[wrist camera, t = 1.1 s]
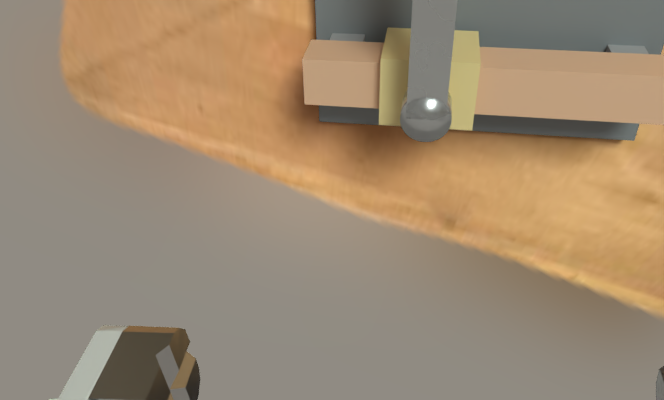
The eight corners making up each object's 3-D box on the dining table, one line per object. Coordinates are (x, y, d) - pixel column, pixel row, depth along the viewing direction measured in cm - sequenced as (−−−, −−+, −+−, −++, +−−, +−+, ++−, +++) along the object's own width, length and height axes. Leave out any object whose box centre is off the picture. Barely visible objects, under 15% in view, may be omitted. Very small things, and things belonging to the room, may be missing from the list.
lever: (451, 126, 34) (451, 147, 33) (399, 123, 35) (396, 144, 33) (480, -148, 27) (482, -139, 25) (413, -148, 27) (410, -139, 25)
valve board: (701, -108, 33) (751, -73, 27) (629, 130, 41) (657, 194, 35) (315, -112, 35) (289, -81, 30) (322, 112, 44) (302, 169, 38)
